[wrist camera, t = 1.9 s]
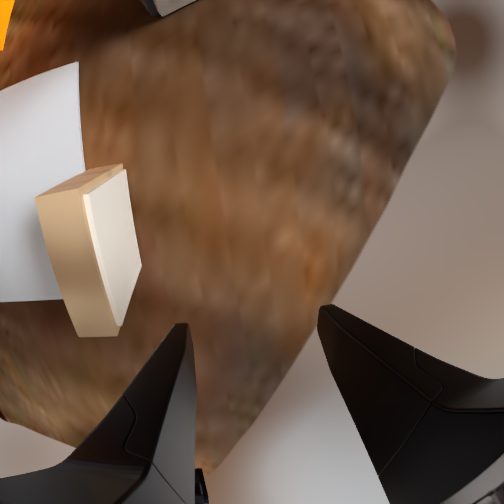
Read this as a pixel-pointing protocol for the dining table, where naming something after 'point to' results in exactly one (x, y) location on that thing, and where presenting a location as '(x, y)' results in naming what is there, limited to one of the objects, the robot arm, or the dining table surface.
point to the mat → (35, 174)
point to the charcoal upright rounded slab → (164, 6)
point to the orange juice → (4, 19)
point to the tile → (92, 247)
